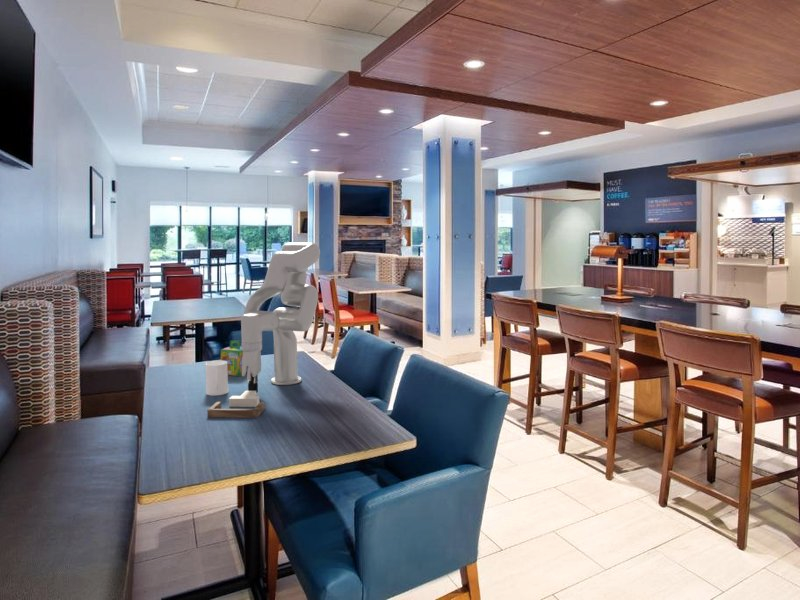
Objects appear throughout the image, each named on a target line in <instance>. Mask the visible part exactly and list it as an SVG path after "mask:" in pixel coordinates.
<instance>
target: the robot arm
mask: <svg viewBox="0 0 800 600" xmlns="http://www.w3.org/2000/svg"><path fill="white" fill-rule="evenodd" d="M320 255H321V250H320V247H319V245H318V244H316V243H315V242H286V243H284V244H283V246H282V247H281V250H280V251H276V252H274V253H273V254H272V255H271V257H270V261H269V264H268V268H267V271H266V275H265V277H264V282H263V284H262V285H261V286H260V287H259V288H258V289H257V290H256V291H254V292H253V294H252V295H251V296H250V297H249V299H248V300H247V303H246V305H245V307H244V311H243V314H242V316H241V318H240V326H241V328H240V333H241V335H240V336H241V347H242V351H243V357H242V375H241V376H242V377H243V378H245V377H246V381H247V387H248V388H247V389H248V390H247V391H256V394H258V392H259V389H258V387H259V386H258V384H259V383H258V381H259V380H258V379H259V377H258V376H259V374H260V373H261V371H262V355H261V351H262V350H263V332H266V331H269V332H270V331H272V334H273V362H274V365H273V366H274V377H272V378H271V379H270V383H271V384H272V385H277V386H291V385H296V384H299V383H301V381H302V377H301V376H299V375H298V340H297V337H296V334H295V332H307V331H309V330H310V328H311V326H312V324H313V320H314V317H315V313H316V310H317V306H318V303H319V302H318V301H319V291H318V289H317V288H316V287H315V286H314V285H312V284H307V283H306V282H307V276H308V275H307V271H306V270H308V269H309V268H310V267H312V265H314V264H315V263H316V262H318V260H319V259H320ZM280 294H281V295H280ZM278 295H280V301H281V303H282V304H283V305H285V306H286V307H285V306H284V307H283V306H282V307H277V308H275V309H274V310H273V311H271V310H270V311H266V310H260V308H261V306H262V305H263V304H264V303H265V302H266V301H267V300H269V299H271V298H273V297H276V296H278ZM289 306H290V307H289ZM298 307H299V308H298Z"/></svg>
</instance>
